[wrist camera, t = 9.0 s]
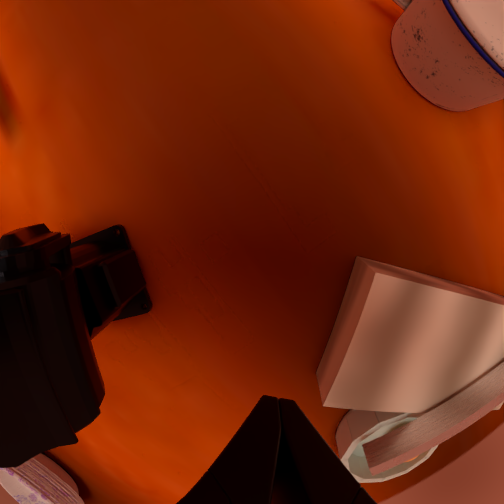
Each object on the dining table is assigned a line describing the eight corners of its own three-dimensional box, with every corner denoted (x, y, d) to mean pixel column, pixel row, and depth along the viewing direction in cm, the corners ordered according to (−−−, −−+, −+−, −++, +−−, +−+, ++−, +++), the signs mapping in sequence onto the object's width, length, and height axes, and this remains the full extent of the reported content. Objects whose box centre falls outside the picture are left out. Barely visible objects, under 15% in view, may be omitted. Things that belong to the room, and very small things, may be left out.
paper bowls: (59, 445, 27) (31, 484, 19) (110, 508, 29) (94, 543, 22) (-1, 425, 28) (-27, 452, 20) (45, 486, 31) (27, 513, 23)
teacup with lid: (496, 72, 15) (587, 36, 4) (457, 140, 17) (577, 121, 6) (387, -26, 14) (437, -111, 3) (329, 27, 16) (371, -86, 5)
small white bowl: (341, 466, 24) (346, 491, 20) (328, 407, 22) (334, 436, 19) (427, 437, 23) (438, 459, 19) (430, 372, 21) (448, 395, 17)
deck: (315, 372, 21) (322, 405, 17) (356, 256, 19) (375, 272, 15) (480, 387, 21) (499, 409, 17) (519, 301, 19) (546, 316, 15)
